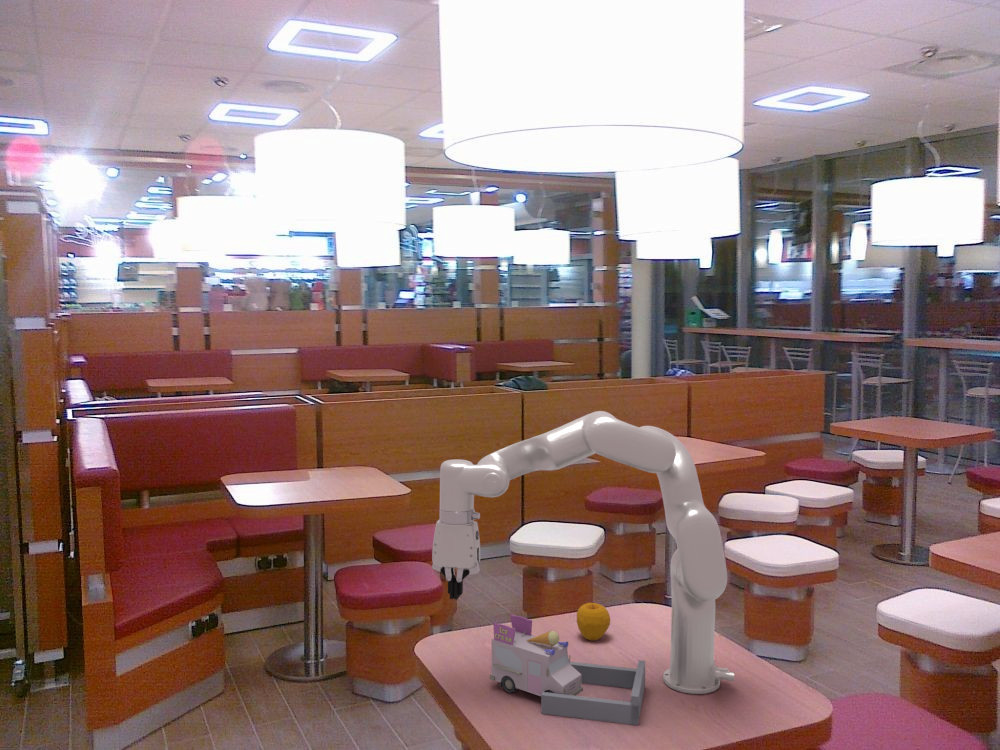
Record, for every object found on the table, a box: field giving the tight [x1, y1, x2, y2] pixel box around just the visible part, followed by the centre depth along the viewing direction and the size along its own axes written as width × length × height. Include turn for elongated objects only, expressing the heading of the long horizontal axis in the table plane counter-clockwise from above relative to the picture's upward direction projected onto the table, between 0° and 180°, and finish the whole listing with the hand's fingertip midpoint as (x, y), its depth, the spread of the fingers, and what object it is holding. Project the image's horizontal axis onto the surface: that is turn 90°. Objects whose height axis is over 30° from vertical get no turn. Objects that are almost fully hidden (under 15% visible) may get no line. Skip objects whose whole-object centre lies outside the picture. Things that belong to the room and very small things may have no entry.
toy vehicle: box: [489, 614, 584, 697], centre depth 190 cm, size 9×20×15 cm, turn 53°
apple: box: [576, 602, 611, 642], centre depth 222 cm, size 9×8×9 cm
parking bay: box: [540, 660, 646, 726], centre depth 188 cm, size 20×18×6 cm
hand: (455, 597), depth 193 cm, fingers closed
